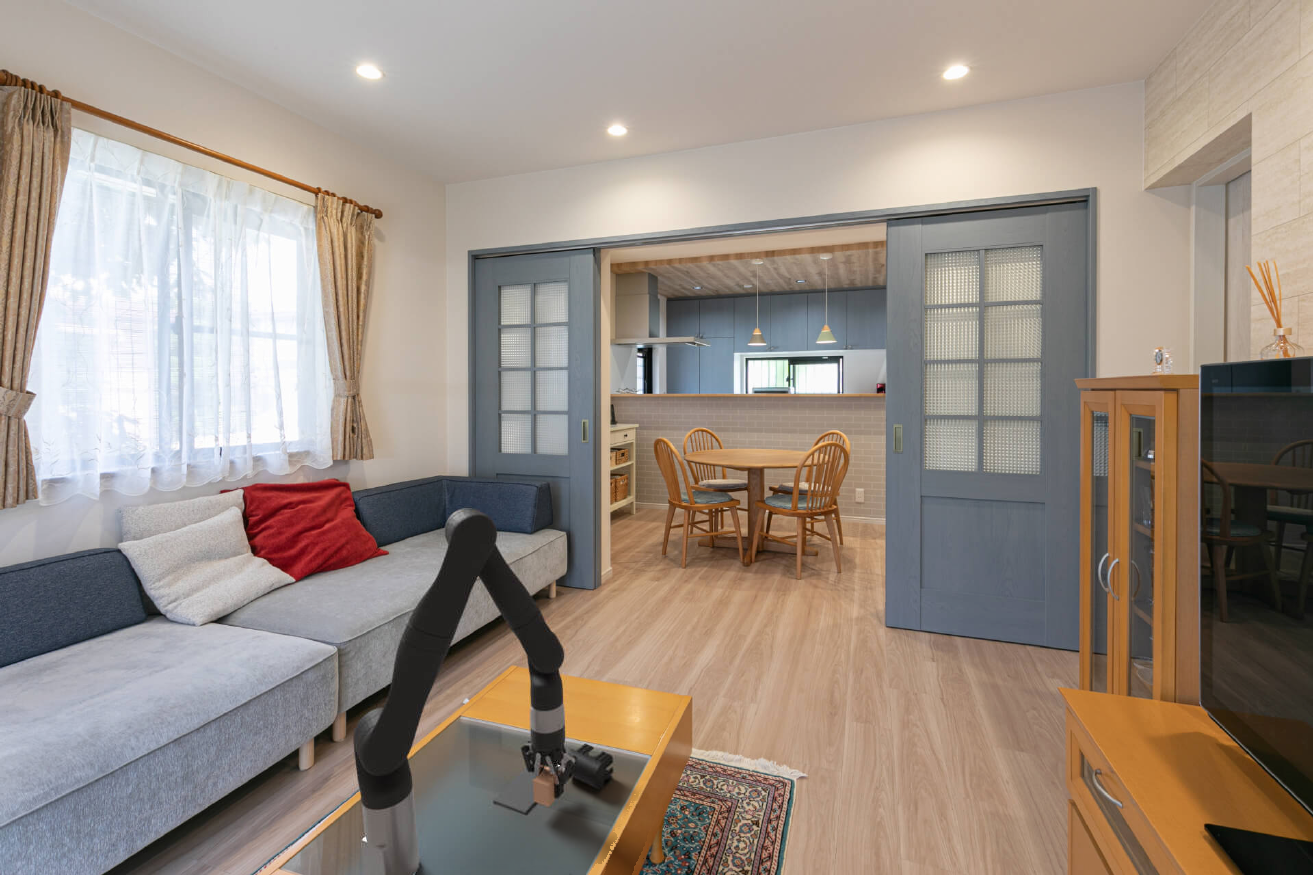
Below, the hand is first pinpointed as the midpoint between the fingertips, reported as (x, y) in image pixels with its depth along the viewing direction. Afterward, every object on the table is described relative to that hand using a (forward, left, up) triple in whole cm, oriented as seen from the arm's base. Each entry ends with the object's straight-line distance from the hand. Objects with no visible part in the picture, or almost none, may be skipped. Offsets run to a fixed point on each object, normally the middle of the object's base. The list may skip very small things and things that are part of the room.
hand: (549, 792), depth 138 cm
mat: (+3, +9, -4) cm, 10 cm away
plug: (+1, 0, -1) cm, 1 cm away
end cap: (+12, -3, -4) cm, 13 cm away
